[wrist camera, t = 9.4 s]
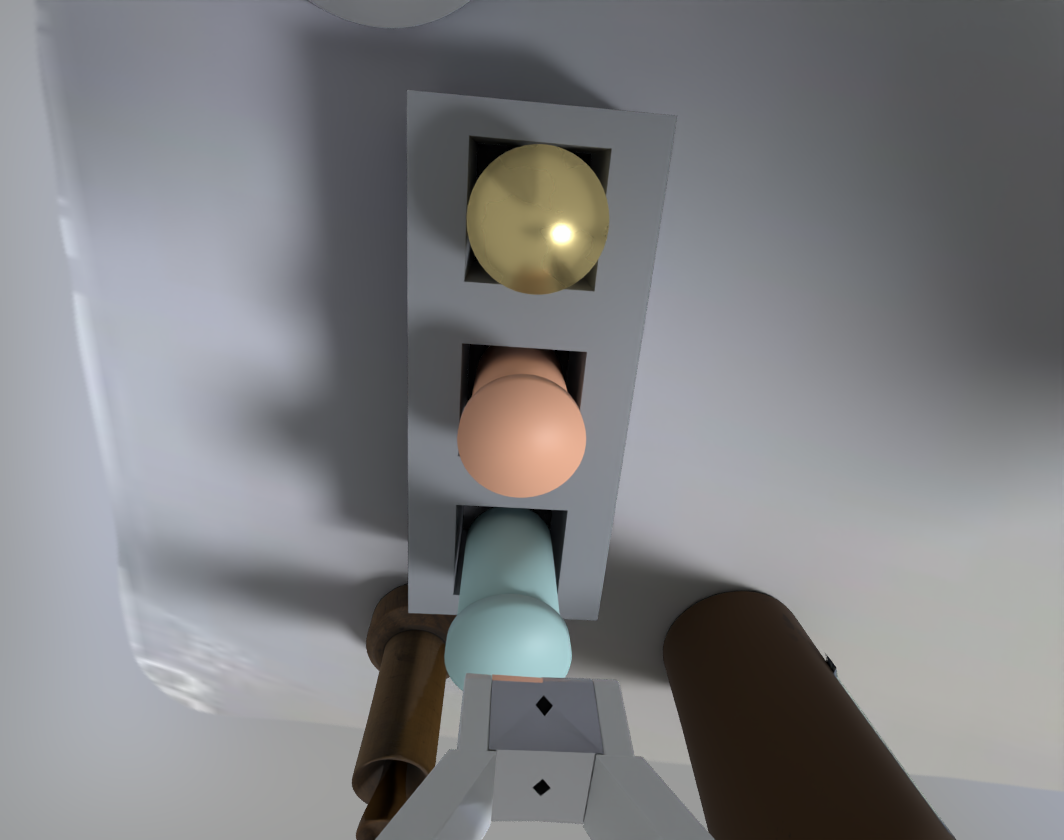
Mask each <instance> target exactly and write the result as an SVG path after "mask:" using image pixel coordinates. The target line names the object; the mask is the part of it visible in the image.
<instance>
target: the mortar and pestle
mask: <svg viewBox="0 0 1064 840" xmlns="http://www.w3.org/2000/svg"><path fill="white" fill-rule="evenodd" d="M456 616H457V615H447V614H422V613H408V584H406V585H403V586H400V587H398V588H395V589H394V590H392V591H391V592H389V593H388V594H387V595H385V596H384V597H383V598H382V599H381V600H380V602H379V603H378V605H377V606H376V608H375V611H374V613H373V616H372V620H371V624H370V627H369V631H368V634H367V640H366V648H367V653H368V656H369V658H370V660H371V662H372V664H373V665H374V666H375V667H376V668H377V669H378V670H379V675H378V680H377V684H376V688H375V692H374V696H373V700H372V704H371V708H370V712H369V716H368V720H367V724H366V728H365V732H364V736H363V740H362V743H361V747H360V751H359V755H358V758H357V762H356V766H355V769H354V773H353V778H352V787H353V790H354V791H355V793H356V795H357V796H358V797H359V798H360V799H361V800H362V801H364V802H365V803H367V804H368V805H367V808H366V810H365V812H364V814H363V816H362V818H361V821H360V823H359V826H358V829H357V832H356V839H357V840H375V839H376V838H377V837H378V836H379V834H380V833H381V832H382V831H383V829H384V828H385V827H386V826H387V825H388V823H389V822H390V821H391V820H392V818H393V817H394V816H395V815H396V814H397V812H398V811H399V810H400V809H401V808H402V806H403V805H404V804H405V803H406V801H407V800H408V799H409V798H410V797H411V795H412V794H413V793H414V792H415V790H416V789H417V788H418V787H419V786H420V784H421V783H422V782H423V781H424V779H425V778H426V777H427V776H428V775H429V773H430V772H431V771H432V770H433V768H434V767H435V763H436V755H437V746H438V738H439V730H440V722H441V714H442V706H443V697H444V689H445V681H446V679H447V678H449V677H450V676H449V674H448V672H447V669H446V666H445V658H444V655H445V647H446V640H447V634H448V630H449V627H450V625H451V623H452V622H453V620H454V619H455V617H456Z"/></svg>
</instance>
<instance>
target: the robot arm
mask: <svg viewBox="0 0 1064 840" xmlns="http://www.w3.org/2000/svg"><path fill="white" fill-rule="evenodd" d="M491 680H492V682H491ZM491 821H543V822H558V823H559V822H560V823H575V824H584V825H583V827H584V829H585V830H586V832H587V834H588V835H589V837H590V839H591V840H715V839H714V838H713V837H712V836H711V835H710V833H709V832H708V831H707V830H706V829H705V828H704V827H703V825H702V824H701V823H700V822H699V821H698V820H697V819H696V818H695V816H694V815H693V814H692V813H691V812H690V811H689V809H688V808H687V807H686V806H685V805H684V804H683V803H682V802H681V800H680V799H679V798H678V797H677V796H676V795H675V793H674V792H673V791H672V790H671V789H670V788H669V787H668V786H667V784H666V783H665V782H664V781H663V780H662V779H661V777H660V776H659V775H658V774H657V773H656V772H655V771H654V769H653V768H652V767H651V766H650V765H649V764H648V763H647V761H646V760H645V759H644V758H643V757H641V756H634V751H633V746H632V741H631V736H630V731H629V727H628V722H627V717H626V712H625V707H624V702H623V697H622V692H621V687H620V684H619V682H618V681H617V680H607V679H592V680H591V679H584V678H552V677H541V678H537V677H523V676H508V675H494V674H492V678H491V675H488V674H473V673H466V676H465V679H464V687H463V697H462V706H461V716H460V725H459V734H458V744H457V750H452V749H451V750H450V749H449V750H448V751H447V753H446V754H445V755H444V756H443V757H442V759H441V760H440V761H439V762H438V764H437V765H436V766H435V767H434V768H433V770H432V771H431V772H430V773H429V775H428V776H427V777H426V778H425V779H424V781H423V782H422V783H421V784H420V786H419V787H418V788H417V789H416V790H415V792H414V793H413V794H412V795H411V797H410V798H409V799H408V800H407V801H406V803H405V804H404V805H403V806H402V808H401V809H400V810H399V811H398V812H397V814H396V815H395V816H394V817H393V818H392V820H391V821H390V822H389V823H388V825H387V826H386V827H385V828H384V829H383V831H382V832H381V833H380V834H379V836H378V837H377V838H376V839H375V840H482V839H483V837H484V835H485V834H486V832H487V830H488V828H489V826H490V825H491Z"/></svg>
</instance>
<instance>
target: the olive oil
mask: <svg viewBox="0 0 1064 840" xmlns="http://www.w3.org/2000/svg"><path fill="white" fill-rule="evenodd" d="M825 656H827V654H826V653H825ZM663 659H664V664H665V668H666V672H667V676H668V679H669V683H670V686H671V690H672V693H673V697H674V701H675V704H676V708H677V711H678V715H679V718H680V722H681V726H682V730H683V733H684V737H685V741H686V745H687V749H688V753H689V757H690V761H691V764H692V768H693V772H694V776H695V780H696V784H697V788H698V791H699V795H700V799H701V803H702V807H703V811H704V815H705V819H706V823H707V827H708V831H709V833H710V835H711V836H712V837H713V838H714V839H715V840H956V839H955V837H954V836H953V835H952V833H951V832H950V830H949V829H948V828H947V826H946V825H945V824H944V822H943V821H942V820H941V818H940V817H939V815H938V814H937V813H936V811H935V810H934V809H933V808H932V806H931V805H930V803H929V802H928V801H927V799H926V798H925V797H924V795H923V794H922V792H921V791H920V790H919V788H918V787H917V786H916V784H915V783H914V782H913V780H912V779H911V778H910V776H909V775H908V773H907V772H906V771H905V769H904V768H903V767H902V765H901V764H900V763H899V761H898V760H897V759H896V757H895V756H894V754H893V753H892V752H891V750H890V749H889V748H888V746H887V745H886V743H885V742H884V741H883V739H882V738H881V737H880V735H879V734H878V732H877V731H876V730H875V728H874V727H873V726H872V724H871V723H870V721H869V720H868V719H867V717H866V716H865V714H864V713H863V712H862V710H861V709H860V708H859V706H858V705H857V703H856V702H855V701H854V699H853V698H852V697H851V695H850V694H849V692H848V691H847V690H846V688H845V687H844V685H843V684H842V683H841V681H840V680H839V679H838V676H837V670H836V667H835V665H834V664H833V662H832V661H831V660H830V658H829V657H828V656H827V658H826V661H825V659H824V658H823V656H822V655H821V654H820V652H819V651H818V649H817V648H816V646H815V645H814V643H813V642H812V641H811V639H810V638H809V636H808V635H807V633H806V632H805V630H804V629H803V628H802V626H801V625H800V623H799V622H798V620H797V619H796V618H795V616H794V615H793V613H792V612H791V611H790V610H789V609H788V608H787V607H786V606H785V605H784V604H783V603H781V602H780V601H778V600H777V599H775V598H773V597H770V596H768V595H765V594H762V593H757V592H750V591H734V592H726V593H721V594H717V595H714V596H711V597H709V598H706V599H704V600H702V601H700V602H698V603H696V604H694V605H693V606H691V607H690V608H689V609H687V610H686V611H685V612H684V613H682V614H681V615H680V616H679V617H678V618H677V620H676V621H675V622H674V623H673V625H672V626H671V628H670V629H669V631H668V633H667V635H666V638H665V641H664V646H663ZM827 659H828V661H827Z"/></svg>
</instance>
